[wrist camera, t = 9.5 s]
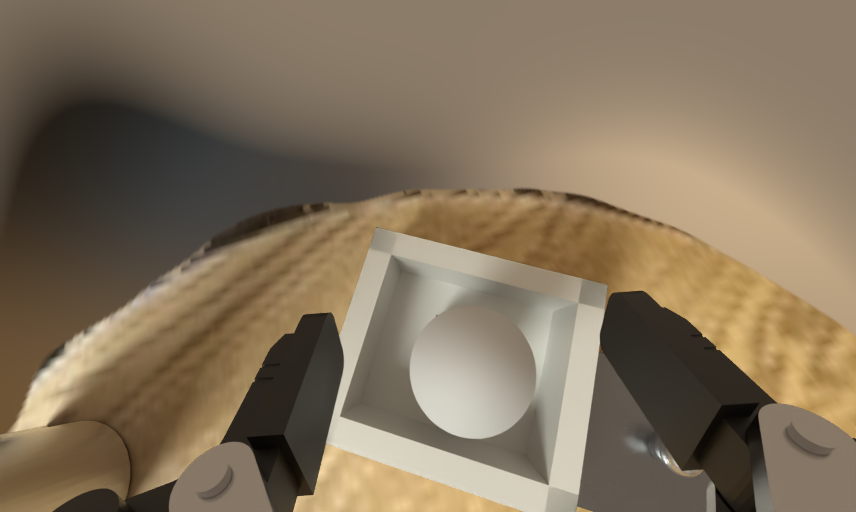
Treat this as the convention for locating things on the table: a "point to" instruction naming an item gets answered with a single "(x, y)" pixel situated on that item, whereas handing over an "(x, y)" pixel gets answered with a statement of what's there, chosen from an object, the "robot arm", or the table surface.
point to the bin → (391, 386)
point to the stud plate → (631, 458)
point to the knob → (472, 372)
